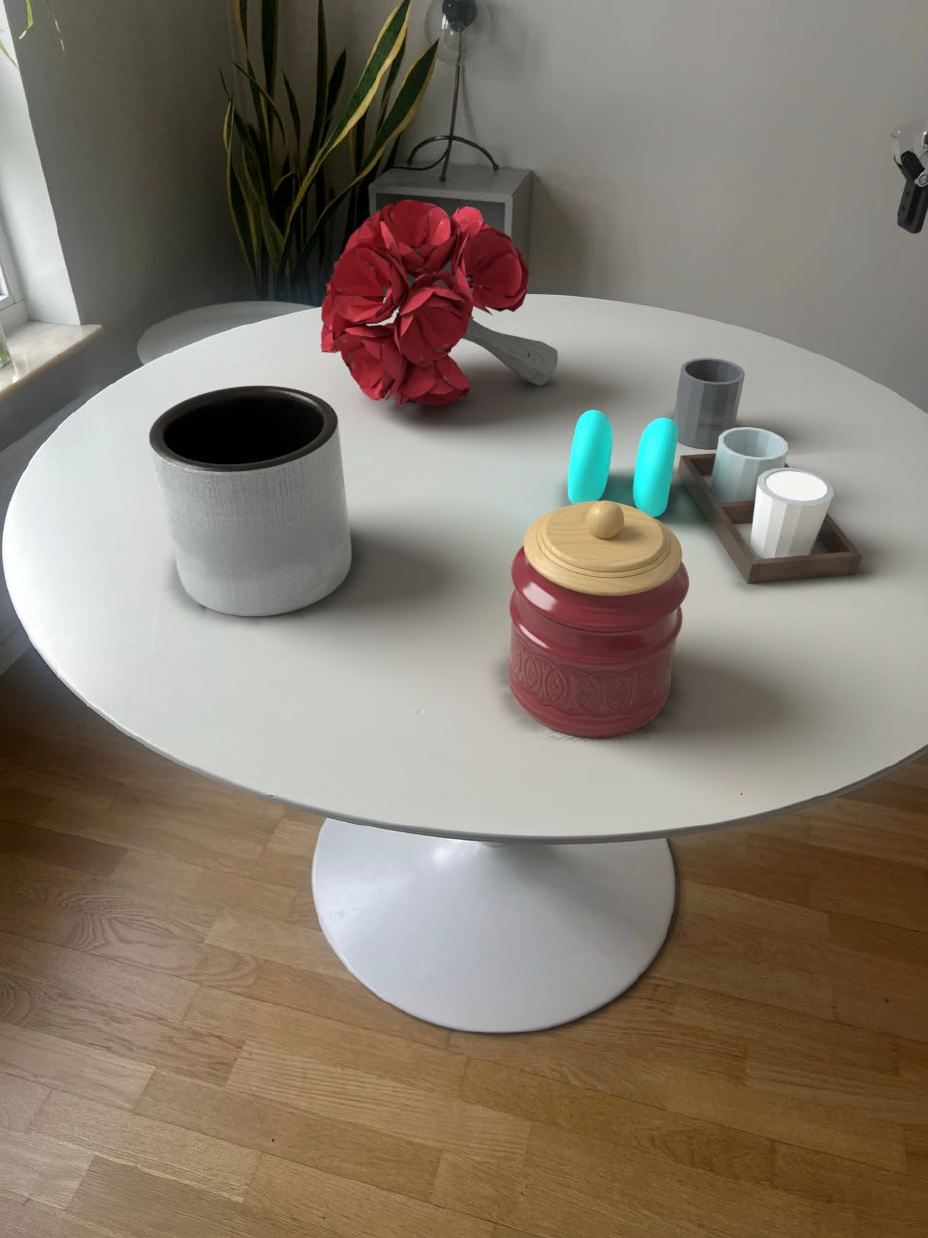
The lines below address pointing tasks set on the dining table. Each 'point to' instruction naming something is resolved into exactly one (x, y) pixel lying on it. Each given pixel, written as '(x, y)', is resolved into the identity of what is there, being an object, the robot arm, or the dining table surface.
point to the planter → (254, 498)
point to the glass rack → (726, 514)
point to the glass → (744, 462)
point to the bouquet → (426, 303)
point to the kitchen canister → (595, 618)
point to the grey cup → (707, 401)
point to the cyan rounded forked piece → (595, 458)
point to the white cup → (788, 512)
